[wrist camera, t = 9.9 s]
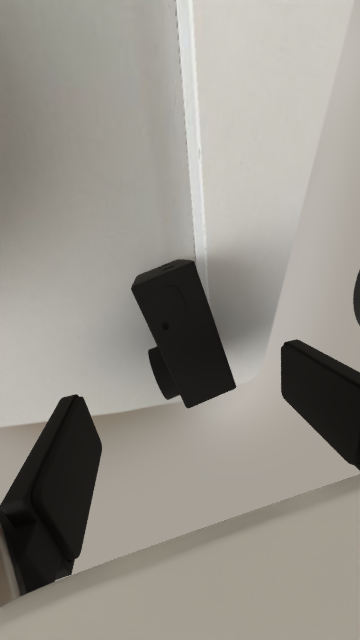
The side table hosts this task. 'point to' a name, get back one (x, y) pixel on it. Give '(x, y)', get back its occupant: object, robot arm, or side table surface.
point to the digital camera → (182, 334)
